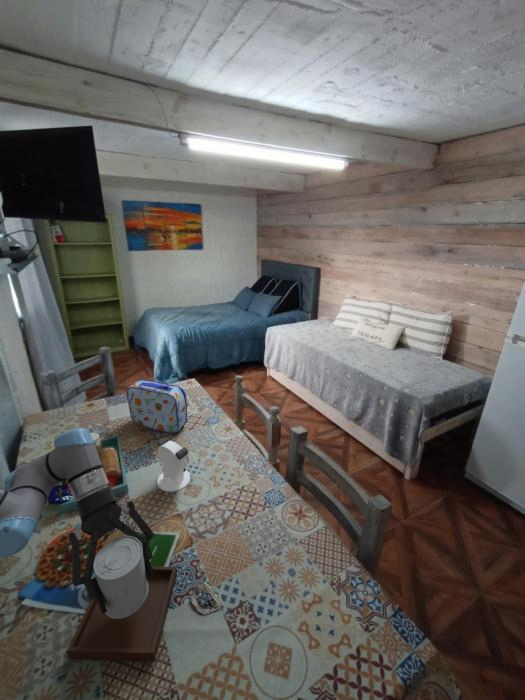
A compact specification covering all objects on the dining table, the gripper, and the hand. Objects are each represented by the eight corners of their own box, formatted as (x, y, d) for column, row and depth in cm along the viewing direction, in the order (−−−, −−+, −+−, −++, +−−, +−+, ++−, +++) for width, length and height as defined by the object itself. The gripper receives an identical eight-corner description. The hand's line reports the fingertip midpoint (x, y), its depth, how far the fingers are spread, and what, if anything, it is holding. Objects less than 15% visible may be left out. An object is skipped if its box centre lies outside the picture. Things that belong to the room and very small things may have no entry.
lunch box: (193, 425, 144) (191, 381, 136) (181, 438, 135) (178, 392, 127) (142, 414, 152) (137, 372, 144) (128, 426, 142) (121, 382, 134)
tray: (69, 659, 65) (66, 650, 64) (109, 573, 81) (107, 564, 80) (154, 661, 65) (153, 653, 64) (177, 574, 81) (176, 566, 80)
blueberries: (200, 579, 81) (199, 574, 80) (228, 591, 78) (228, 586, 77) (184, 606, 75) (184, 601, 74) (214, 621, 72) (214, 615, 71)
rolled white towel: (104, 581, 74) (95, 543, 69) (147, 567, 77) (142, 530, 72) (100, 626, 65) (90, 586, 61) (149, 608, 68) (143, 569, 64)
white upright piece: (198, 477, 114) (196, 443, 108) (173, 497, 105) (170, 461, 99) (175, 464, 120) (172, 430, 115) (150, 482, 111) (146, 446, 106)
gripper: (35, 520, 63) (72, 639, 58) (143, 467, 77) (181, 559, 72) (35, 522, 68) (70, 632, 63) (136, 473, 83) (171, 559, 77)
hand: (129, 593), depth 67 cm, fingers closed on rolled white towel, 9 cm apart
